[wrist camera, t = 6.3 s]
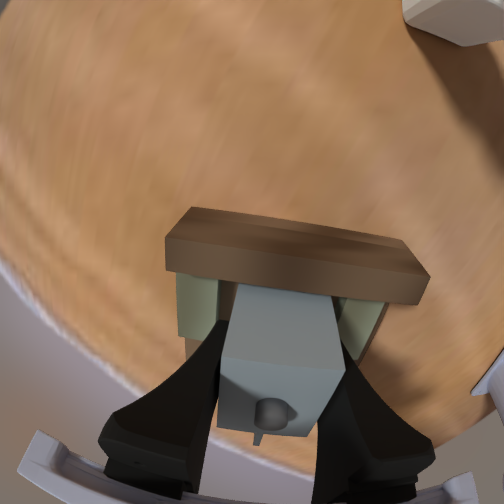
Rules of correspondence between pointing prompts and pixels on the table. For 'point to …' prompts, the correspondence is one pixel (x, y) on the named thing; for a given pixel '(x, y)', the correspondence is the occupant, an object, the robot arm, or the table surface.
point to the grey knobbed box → (278, 362)
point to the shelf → (287, 271)
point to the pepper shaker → (457, 19)
